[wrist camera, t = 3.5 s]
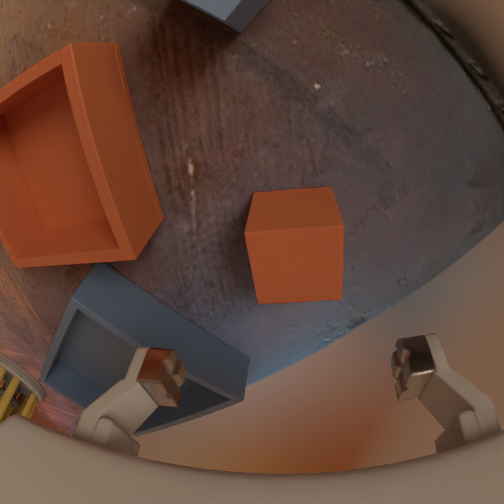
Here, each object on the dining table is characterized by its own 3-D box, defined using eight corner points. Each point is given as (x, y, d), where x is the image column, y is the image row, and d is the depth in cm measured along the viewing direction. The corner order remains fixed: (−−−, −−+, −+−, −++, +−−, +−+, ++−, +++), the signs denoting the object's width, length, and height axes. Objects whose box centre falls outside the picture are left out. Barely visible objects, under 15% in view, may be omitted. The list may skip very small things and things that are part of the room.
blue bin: (99, 257, 22) (70, 297, 18) (249, 357, 27) (243, 400, 23) (52, 354, 33) (38, 379, 29) (144, 410, 38) (136, 436, 34)
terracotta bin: (119, 42, 13) (70, 42, 9) (164, 218, 19) (136, 260, 15) (2, 107, 15) (-42, 126, 11) (47, 235, 21) (15, 268, 17)
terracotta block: (331, 186, 17) (344, 225, 13) (333, 251, 19) (341, 299, 15) (253, 192, 17) (243, 232, 14) (263, 255, 20) (257, 304, 16)
